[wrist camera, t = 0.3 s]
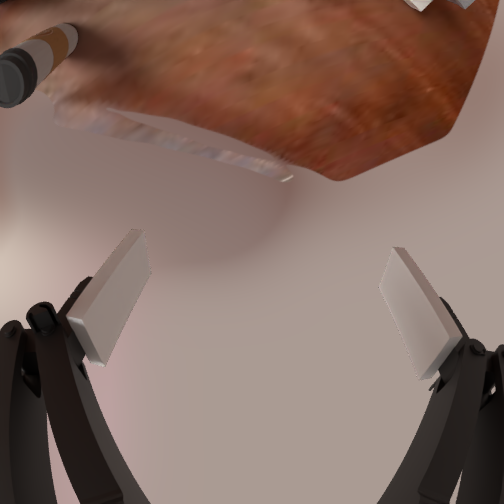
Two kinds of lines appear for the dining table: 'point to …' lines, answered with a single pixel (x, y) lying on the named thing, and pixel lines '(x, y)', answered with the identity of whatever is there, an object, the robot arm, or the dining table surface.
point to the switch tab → (462, 3)
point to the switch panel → (418, 4)
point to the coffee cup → (33, 62)
